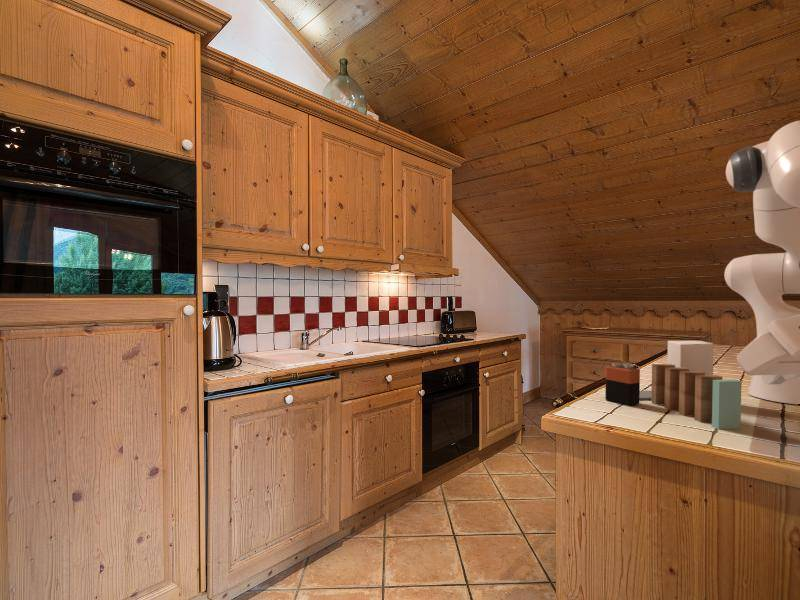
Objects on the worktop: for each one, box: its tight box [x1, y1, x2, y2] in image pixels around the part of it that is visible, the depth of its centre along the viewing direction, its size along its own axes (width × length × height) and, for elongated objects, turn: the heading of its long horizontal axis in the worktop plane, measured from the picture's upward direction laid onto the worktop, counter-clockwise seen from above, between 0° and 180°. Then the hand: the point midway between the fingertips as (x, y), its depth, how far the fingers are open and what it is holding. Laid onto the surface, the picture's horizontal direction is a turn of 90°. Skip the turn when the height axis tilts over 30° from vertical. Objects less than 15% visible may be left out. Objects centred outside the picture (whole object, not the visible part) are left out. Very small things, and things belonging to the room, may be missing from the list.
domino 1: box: [650, 363, 675, 405], centre depth 103 cm, size 5×2×10 cm, turn 95°
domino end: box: [711, 379, 742, 430], centre depth 85 cm, size 5×2×10 cm, turn 95°
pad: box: [639, 390, 652, 401], centre depth 110 cm, size 9×7×1 cm
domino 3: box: [678, 371, 705, 417], centre depth 94 cm, size 5×2×10 cm, turn 95°
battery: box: [604, 362, 641, 407], centre depth 104 cm, size 4×7×10 cm, turn 32°
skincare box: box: [667, 340, 715, 375], centre depth 105 cm, size 8×7×16 cm
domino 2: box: [664, 367, 689, 411], centre depth 98 cm, size 5×2×10 cm, turn 95°
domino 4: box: [693, 374, 723, 423], centre depth 89 cm, size 5×2×10 cm, turn 95°
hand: (770, 381), depth 76 cm, fingers closed
